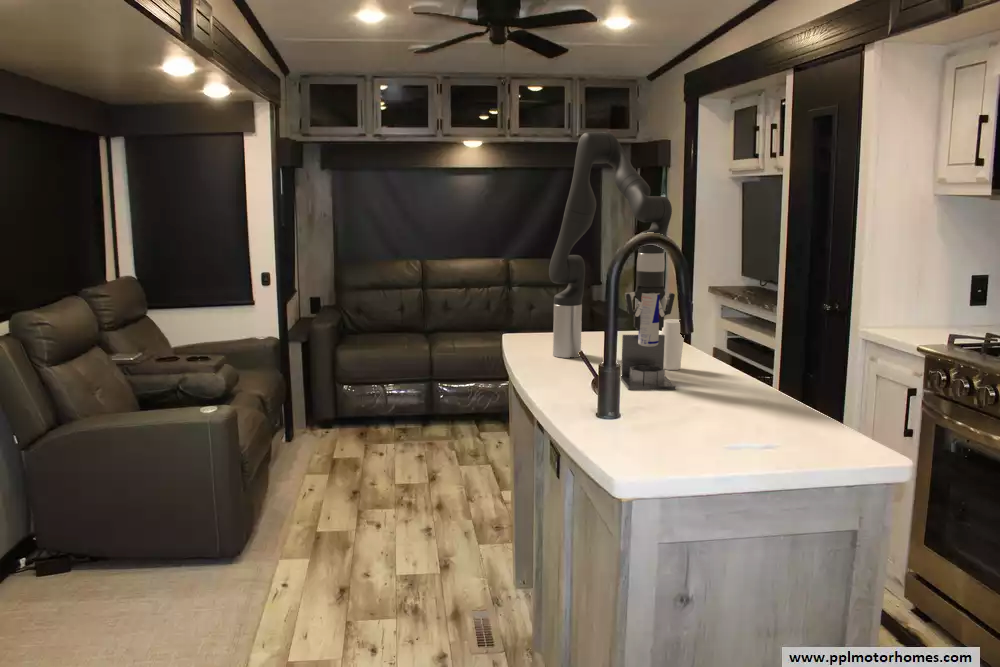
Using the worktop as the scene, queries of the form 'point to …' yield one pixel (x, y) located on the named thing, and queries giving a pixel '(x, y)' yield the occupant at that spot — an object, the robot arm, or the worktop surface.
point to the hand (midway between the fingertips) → (648, 329)
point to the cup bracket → (643, 365)
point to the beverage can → (649, 320)
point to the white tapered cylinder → (672, 344)
